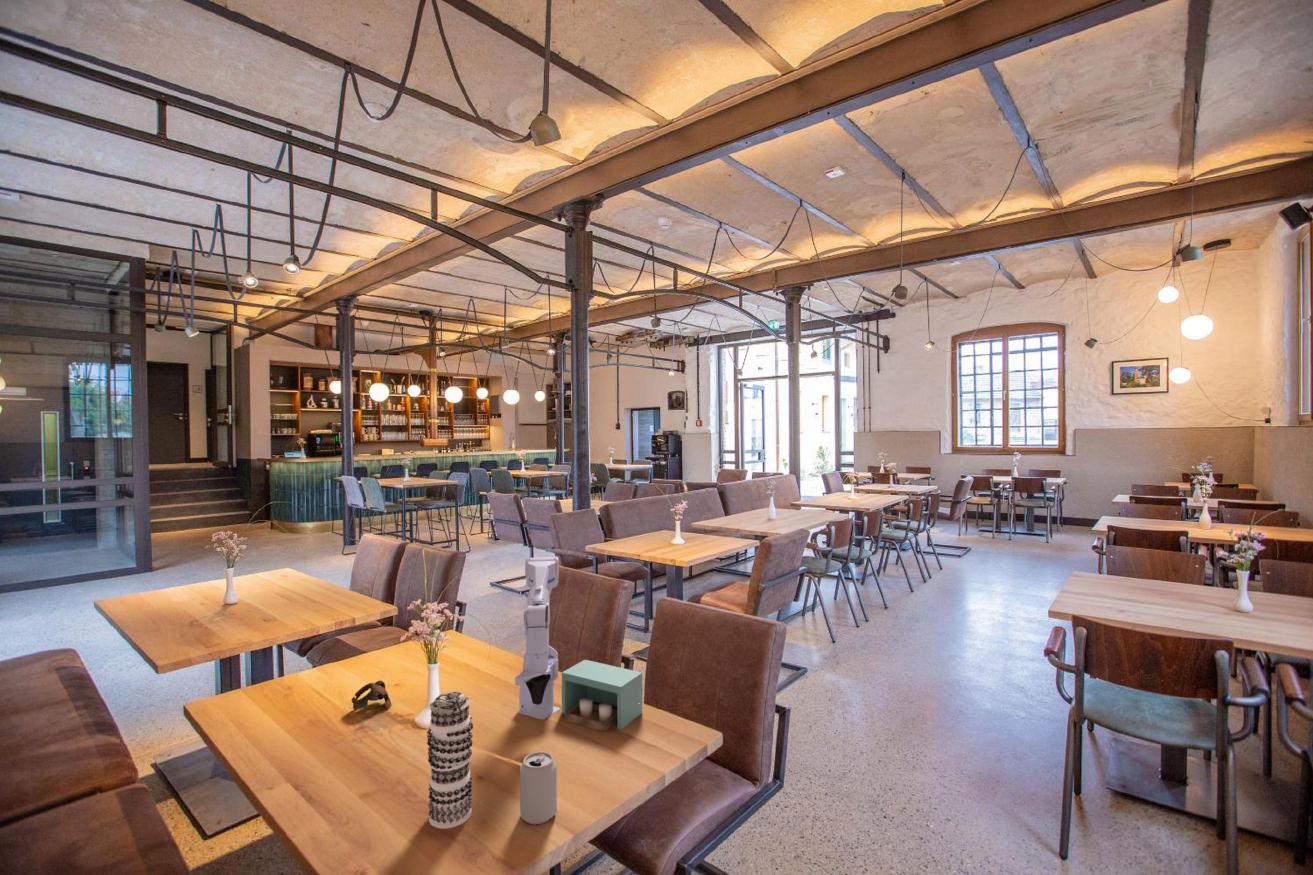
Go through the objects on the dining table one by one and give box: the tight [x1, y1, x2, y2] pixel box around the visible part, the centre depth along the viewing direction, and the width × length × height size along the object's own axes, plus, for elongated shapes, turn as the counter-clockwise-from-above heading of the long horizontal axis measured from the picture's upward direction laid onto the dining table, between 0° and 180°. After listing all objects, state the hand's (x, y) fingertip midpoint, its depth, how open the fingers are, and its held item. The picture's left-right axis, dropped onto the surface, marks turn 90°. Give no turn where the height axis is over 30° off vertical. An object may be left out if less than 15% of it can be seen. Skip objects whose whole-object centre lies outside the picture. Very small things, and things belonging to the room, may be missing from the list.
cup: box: [580, 698, 594, 718], centre depth 169 cm, size 4×4×4 cm
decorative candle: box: [426, 691, 474, 830], centre depth 126 cm, size 9×9×25 cm
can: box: [519, 751, 558, 825], centre depth 126 cm, size 8×8×12 cm
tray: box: [564, 702, 617, 733], centre depth 166 cm, size 13×9×2 cm
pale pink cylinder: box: [598, 703, 613, 723], centre depth 166 cm, size 4×4×4 cm
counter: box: [561, 659, 643, 730], centre depth 170 cm, size 20×11×12 cm, turn 60°
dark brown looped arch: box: [351, 679, 392, 711], centre depth 176 cm, size 12×10×8 cm
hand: (537, 703), depth 157 cm, fingers closed
